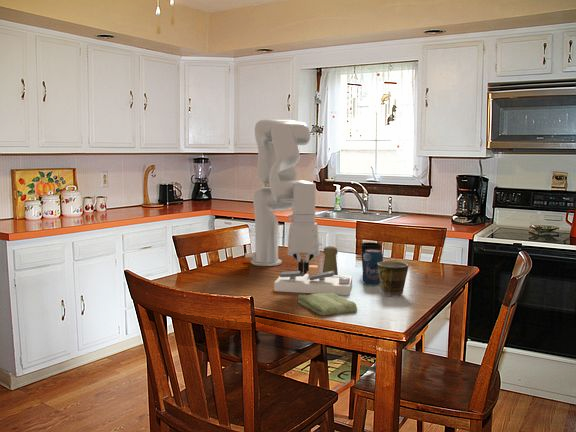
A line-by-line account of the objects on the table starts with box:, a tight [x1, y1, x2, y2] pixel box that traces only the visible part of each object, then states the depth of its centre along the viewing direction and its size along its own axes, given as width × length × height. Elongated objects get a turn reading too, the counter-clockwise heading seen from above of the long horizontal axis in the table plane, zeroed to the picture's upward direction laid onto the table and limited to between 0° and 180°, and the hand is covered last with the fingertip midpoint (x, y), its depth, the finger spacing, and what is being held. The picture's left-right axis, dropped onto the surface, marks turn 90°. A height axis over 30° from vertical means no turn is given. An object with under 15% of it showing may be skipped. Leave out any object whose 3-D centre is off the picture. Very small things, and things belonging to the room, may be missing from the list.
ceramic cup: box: [378, 260, 409, 297], centre depth 180 cm, size 13×10×10 cm
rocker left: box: [279, 270, 305, 277], centre depth 186 cm, size 8×4×1 cm, turn 80°
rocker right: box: [310, 271, 334, 280], centre depth 184 cm, size 8×4×1 cm, turn 80°
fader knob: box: [307, 264, 319, 275], centre depth 193 cm, size 3×3×3 cm
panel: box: [273, 273, 353, 296], centre depth 189 cm, size 25×15×4 cm, turn 80°
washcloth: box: [297, 293, 358, 317], centre depth 166 cm, size 13×18×3 cm
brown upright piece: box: [321, 245, 339, 275], centre depth 207 cm, size 6×6×11 cm
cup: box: [360, 242, 382, 269], centre depth 208 cm, size 8×8×12 cm
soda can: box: [362, 249, 384, 287], centre depth 195 cm, size 7×7×12 cm
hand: (303, 273), depth 185 cm, fingers closed
